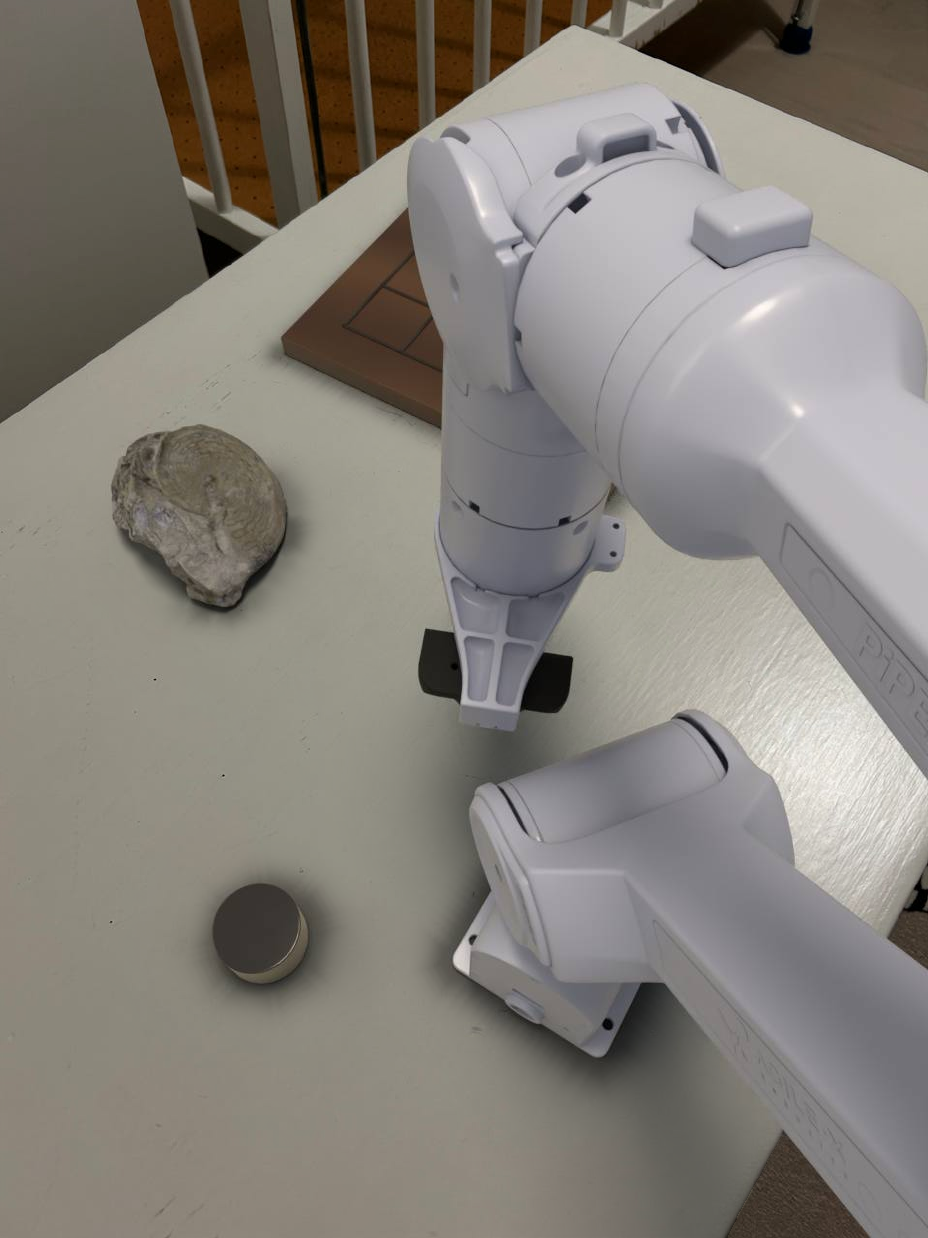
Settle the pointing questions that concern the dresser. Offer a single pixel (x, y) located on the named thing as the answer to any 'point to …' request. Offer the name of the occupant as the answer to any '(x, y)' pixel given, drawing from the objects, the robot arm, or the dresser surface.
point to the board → (378, 329)
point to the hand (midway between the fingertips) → (500, 631)
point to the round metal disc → (260, 933)
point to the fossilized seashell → (201, 507)
